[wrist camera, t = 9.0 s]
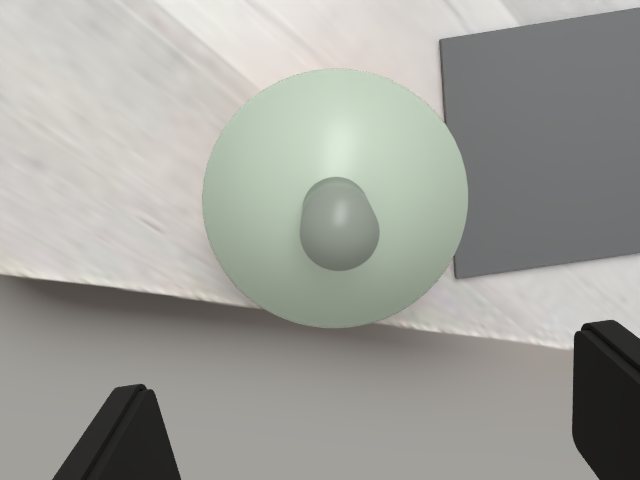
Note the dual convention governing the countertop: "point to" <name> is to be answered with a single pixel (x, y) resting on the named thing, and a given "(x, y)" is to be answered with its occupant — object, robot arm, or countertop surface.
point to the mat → (547, 141)
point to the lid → (335, 198)
